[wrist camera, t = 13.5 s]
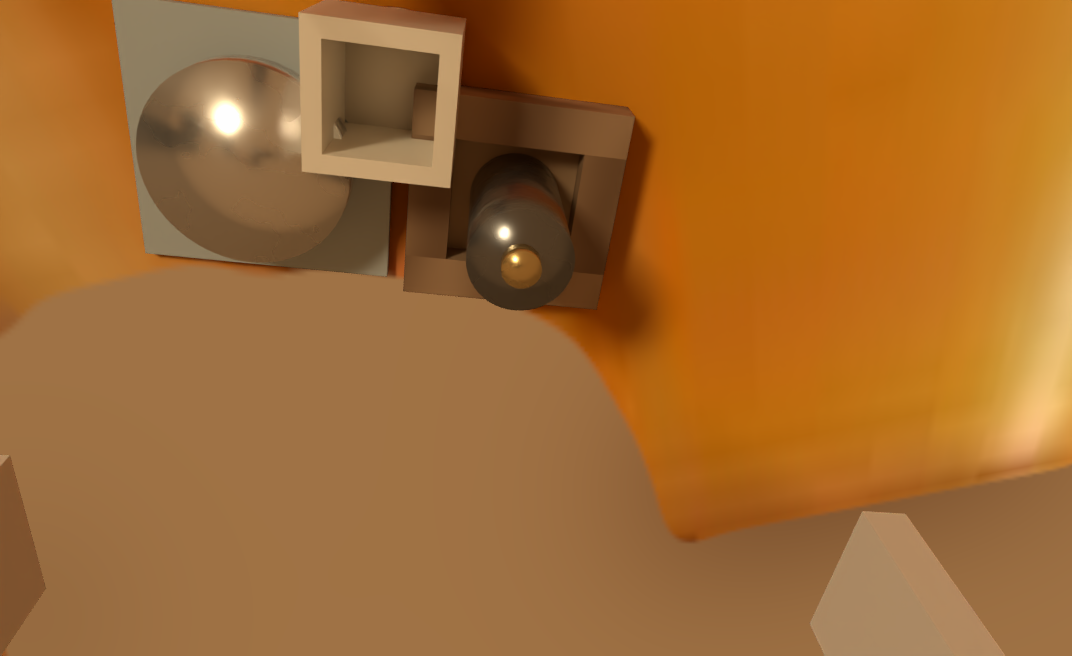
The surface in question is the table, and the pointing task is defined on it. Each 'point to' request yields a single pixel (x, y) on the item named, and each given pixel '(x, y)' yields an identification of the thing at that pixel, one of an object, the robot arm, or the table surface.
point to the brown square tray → (533, 129)
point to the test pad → (237, 160)
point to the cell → (518, 234)
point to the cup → (378, 90)
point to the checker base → (208, 31)
